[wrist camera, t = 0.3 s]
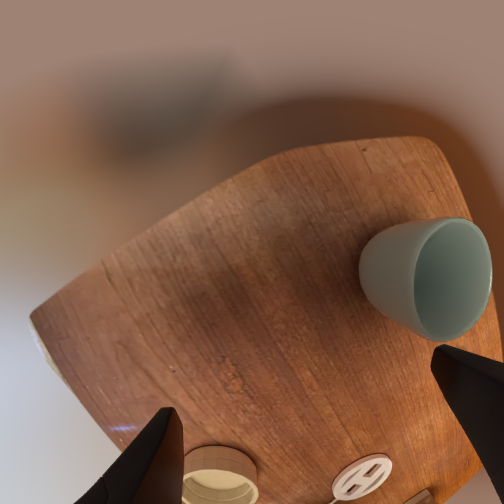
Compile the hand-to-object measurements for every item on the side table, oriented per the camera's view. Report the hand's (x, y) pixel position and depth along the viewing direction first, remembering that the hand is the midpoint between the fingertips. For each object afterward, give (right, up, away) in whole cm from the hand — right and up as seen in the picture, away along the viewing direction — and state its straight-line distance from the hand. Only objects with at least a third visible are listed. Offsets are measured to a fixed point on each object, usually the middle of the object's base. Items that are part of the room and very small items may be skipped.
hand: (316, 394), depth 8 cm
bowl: (-6, -19, +16) cm, 25 cm away
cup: (+10, +3, +16) cm, 19 cm away
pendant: (+10, -24, +17) cm, 31 cm away
